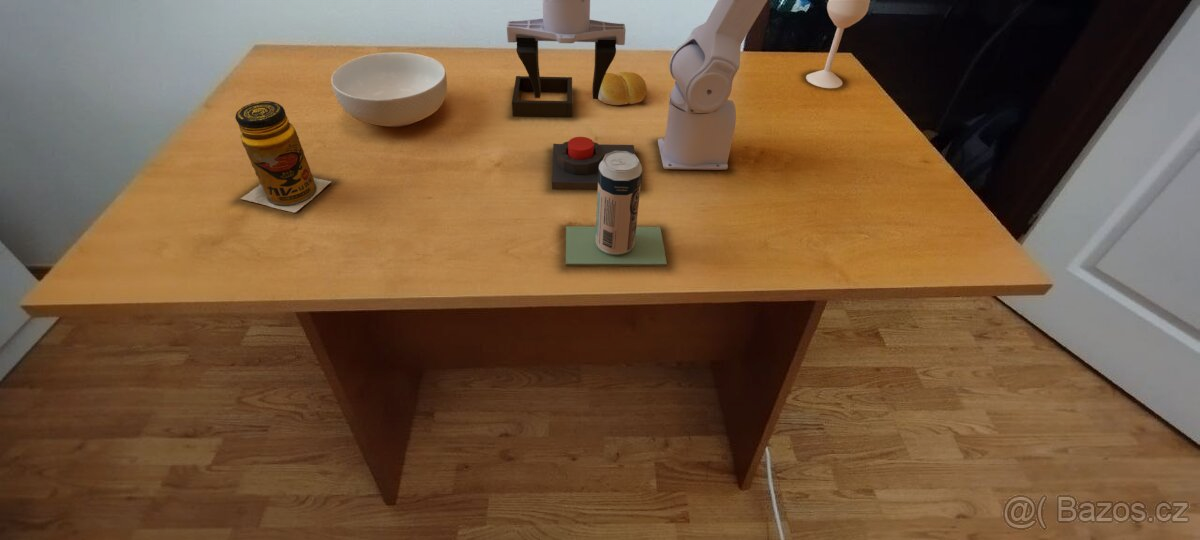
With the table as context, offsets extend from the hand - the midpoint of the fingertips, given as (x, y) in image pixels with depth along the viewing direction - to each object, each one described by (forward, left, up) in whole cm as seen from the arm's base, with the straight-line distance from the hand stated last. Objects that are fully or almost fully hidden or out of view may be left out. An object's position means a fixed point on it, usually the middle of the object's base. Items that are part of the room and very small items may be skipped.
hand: (566, 95), depth 77 cm
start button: (-2, +2, -8) cm, 8 cm away
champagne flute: (-48, -29, -11) cm, 57 cm away
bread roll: (-9, -21, -11) cm, 25 cm away
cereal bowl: (+27, -13, -11) cm, 32 cm away
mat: (-6, +19, -10) cm, 22 cm away
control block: (-4, +2, -10) cm, 11 cm away
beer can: (-6, +19, -10) cm, 22 cm away
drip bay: (+4, -18, -10) cm, 21 cm away
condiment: (+37, +8, -11) cm, 39 cm away
